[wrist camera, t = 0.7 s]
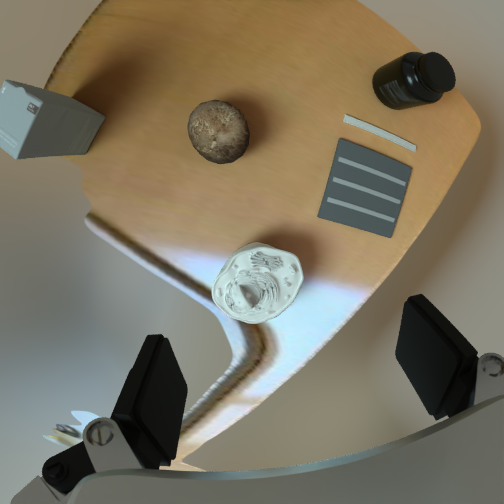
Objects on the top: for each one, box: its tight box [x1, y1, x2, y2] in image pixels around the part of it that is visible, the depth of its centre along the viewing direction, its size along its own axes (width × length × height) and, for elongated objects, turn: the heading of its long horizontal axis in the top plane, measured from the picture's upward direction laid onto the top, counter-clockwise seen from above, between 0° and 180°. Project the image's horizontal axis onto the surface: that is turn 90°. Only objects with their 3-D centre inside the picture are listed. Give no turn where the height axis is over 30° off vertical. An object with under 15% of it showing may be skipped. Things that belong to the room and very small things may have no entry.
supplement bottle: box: [372, 52, 456, 110], centre depth 25 cm, size 7×7×12 cm
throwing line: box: [343, 115, 416, 152], centre depth 33 cm, size 1×12×1 cm, turn 76°
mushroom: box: [188, 100, 250, 164], centre depth 30 cm, size 8×8×6 cm
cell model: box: [212, 242, 304, 324], centre depth 36 cm, size 10×12×7 cm
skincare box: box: [0, 80, 105, 160], centre depth 23 cm, size 8×7×16 cm
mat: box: [317, 139, 412, 238], centre depth 35 cm, size 11×12×1 cm
